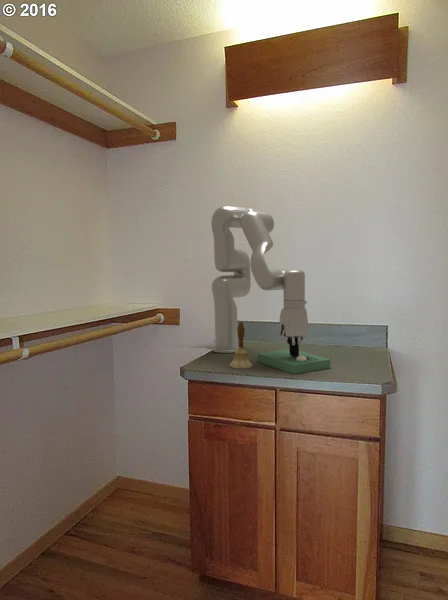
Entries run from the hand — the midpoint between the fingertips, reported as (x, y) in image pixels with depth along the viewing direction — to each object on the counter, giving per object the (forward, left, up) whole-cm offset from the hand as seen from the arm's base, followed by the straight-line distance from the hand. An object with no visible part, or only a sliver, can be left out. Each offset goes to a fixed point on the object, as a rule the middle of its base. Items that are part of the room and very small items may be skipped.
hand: (294, 355), depth 157 cm
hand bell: (-9, -17, -4) cm, 20 cm away
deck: (-1, 0, -4) cm, 4 cm away
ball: (+4, 0, -1) cm, 4 cm away
